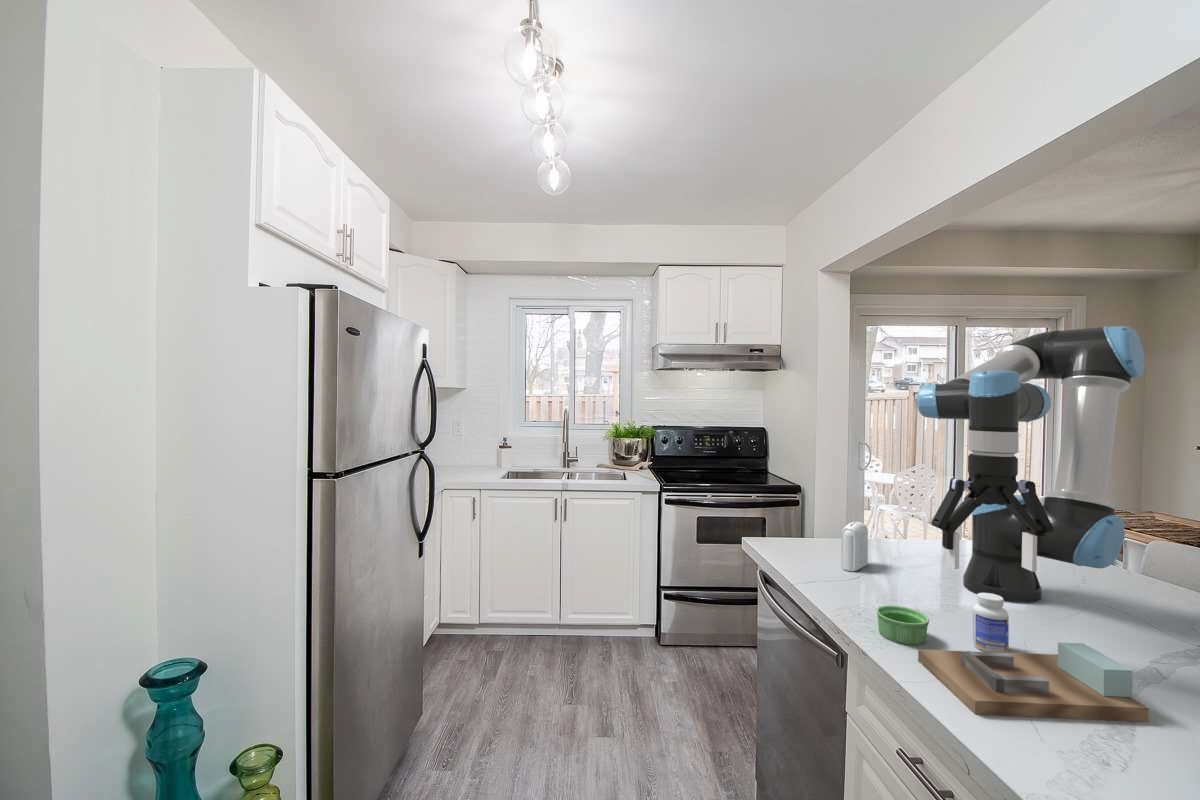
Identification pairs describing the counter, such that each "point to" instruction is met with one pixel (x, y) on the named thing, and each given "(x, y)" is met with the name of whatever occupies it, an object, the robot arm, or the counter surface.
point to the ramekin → (902, 624)
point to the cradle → (1024, 686)
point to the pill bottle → (990, 624)
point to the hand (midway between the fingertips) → (990, 568)
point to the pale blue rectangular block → (1095, 669)
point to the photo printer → (854, 546)
